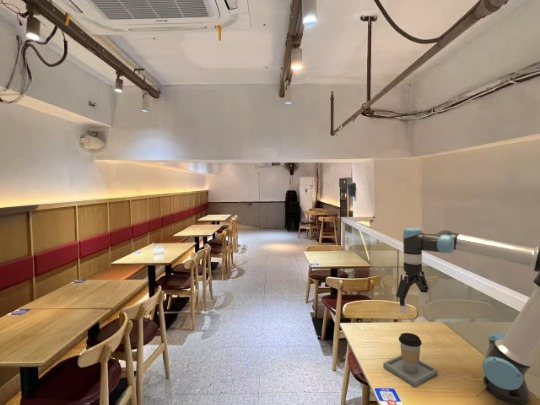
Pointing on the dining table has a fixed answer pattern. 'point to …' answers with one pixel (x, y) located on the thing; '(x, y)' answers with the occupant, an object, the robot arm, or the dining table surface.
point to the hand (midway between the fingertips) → (412, 309)
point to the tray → (414, 379)
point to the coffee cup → (410, 351)
